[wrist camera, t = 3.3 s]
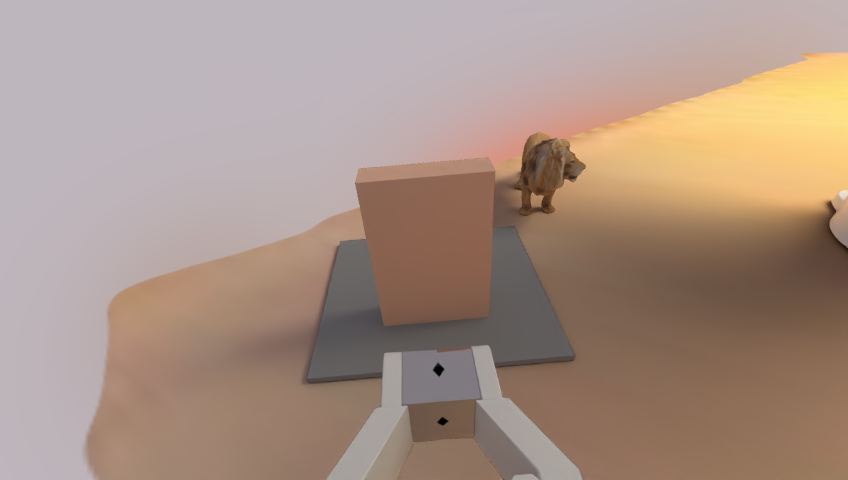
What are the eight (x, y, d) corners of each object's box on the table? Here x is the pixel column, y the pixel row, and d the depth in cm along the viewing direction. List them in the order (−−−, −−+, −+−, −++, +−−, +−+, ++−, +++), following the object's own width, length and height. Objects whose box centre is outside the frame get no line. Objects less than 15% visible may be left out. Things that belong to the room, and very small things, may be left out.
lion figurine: (577, 231, 37) (595, 145, 32) (524, 233, 37) (533, 149, 32) (542, 170, 49) (551, 101, 44) (502, 172, 49) (506, 104, 44)
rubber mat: (513, 230, 38) (514, 226, 37) (573, 360, 24) (574, 355, 24) (341, 245, 38) (340, 241, 37) (308, 383, 24) (306, 378, 24)
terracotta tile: (483, 297, 29) (488, 156, 22) (488, 317, 27) (495, 170, 21) (384, 305, 29) (359, 167, 22) (383, 326, 27) (355, 183, 21)
